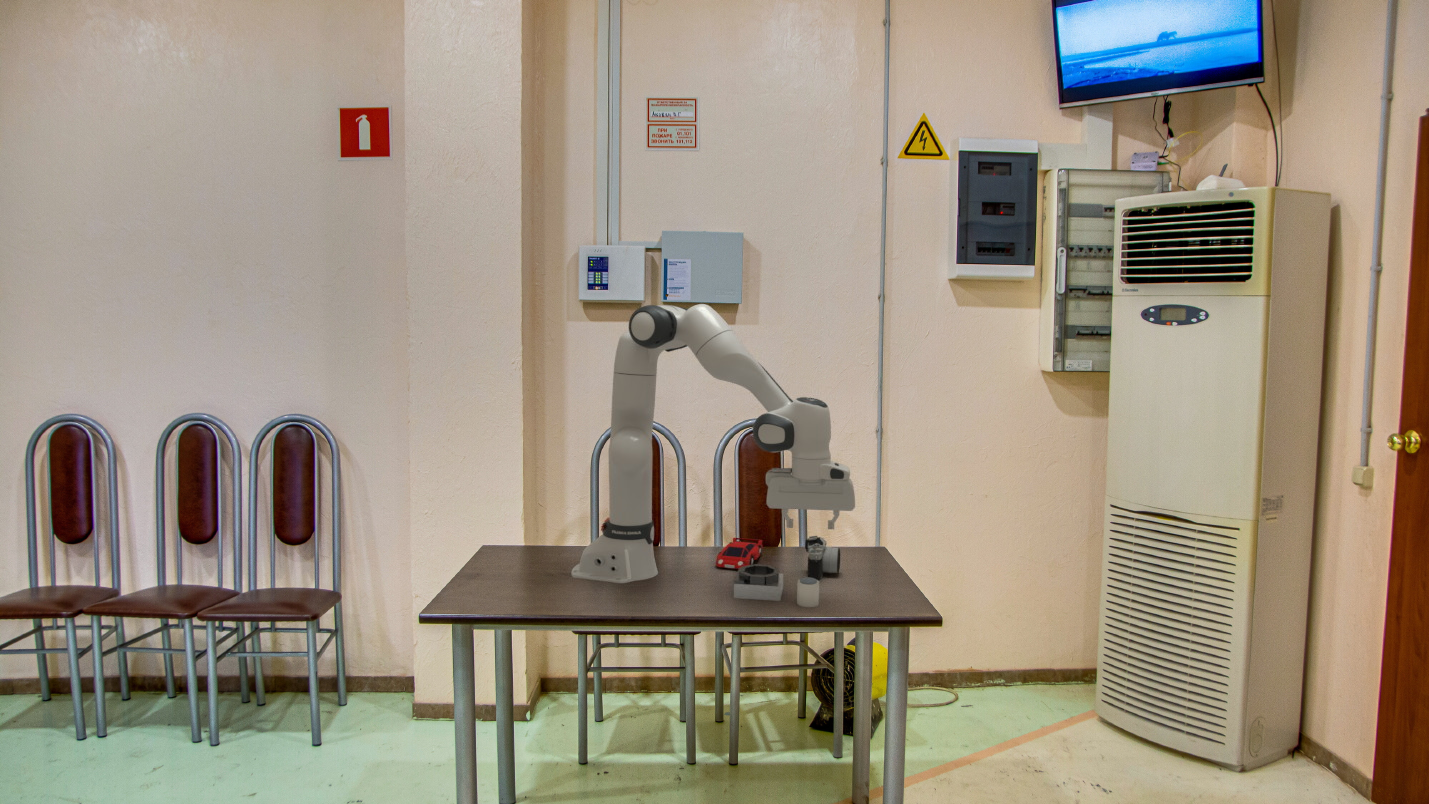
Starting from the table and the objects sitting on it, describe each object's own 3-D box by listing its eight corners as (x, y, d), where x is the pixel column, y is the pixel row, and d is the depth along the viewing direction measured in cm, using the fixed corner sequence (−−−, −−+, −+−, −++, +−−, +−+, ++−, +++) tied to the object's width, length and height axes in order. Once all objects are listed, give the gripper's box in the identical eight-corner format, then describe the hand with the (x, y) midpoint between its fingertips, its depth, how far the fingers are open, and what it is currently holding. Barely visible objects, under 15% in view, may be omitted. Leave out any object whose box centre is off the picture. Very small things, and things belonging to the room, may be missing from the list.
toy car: (713, 570, 209) (713, 552, 209) (728, 549, 229) (728, 533, 228) (751, 573, 207) (751, 555, 206) (764, 552, 226) (764, 535, 226)
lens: (796, 609, 180) (796, 582, 180) (797, 602, 185) (798, 576, 185) (818, 611, 180) (818, 584, 179) (818, 603, 184) (819, 577, 184)
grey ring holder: (733, 600, 186) (734, 575, 185) (739, 586, 196) (739, 562, 195) (780, 603, 184) (780, 578, 184) (783, 589, 194) (783, 565, 194)
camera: (837, 585, 197) (838, 546, 196) (801, 582, 199) (802, 544, 198) (840, 567, 213) (841, 531, 212) (807, 564, 214) (808, 529, 213)
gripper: (764, 470, 178) (764, 529, 179) (856, 472, 174) (855, 533, 176) (766, 465, 184) (766, 522, 185) (855, 467, 181) (854, 526, 182)
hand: (810, 528), depth 180 cm, fingers open, 8 cm apart
